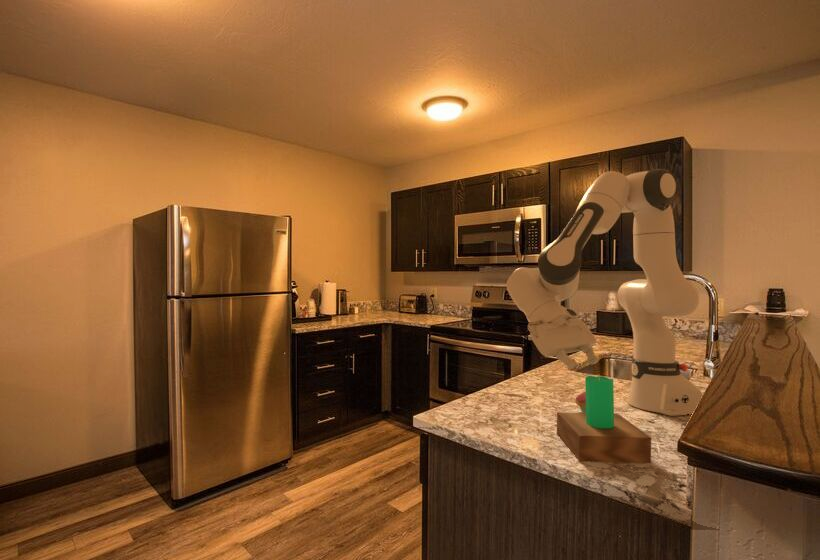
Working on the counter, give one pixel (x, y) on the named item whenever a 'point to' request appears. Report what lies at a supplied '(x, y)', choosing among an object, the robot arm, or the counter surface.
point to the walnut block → (603, 440)
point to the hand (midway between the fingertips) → (585, 365)
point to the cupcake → (581, 401)
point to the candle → (599, 402)
